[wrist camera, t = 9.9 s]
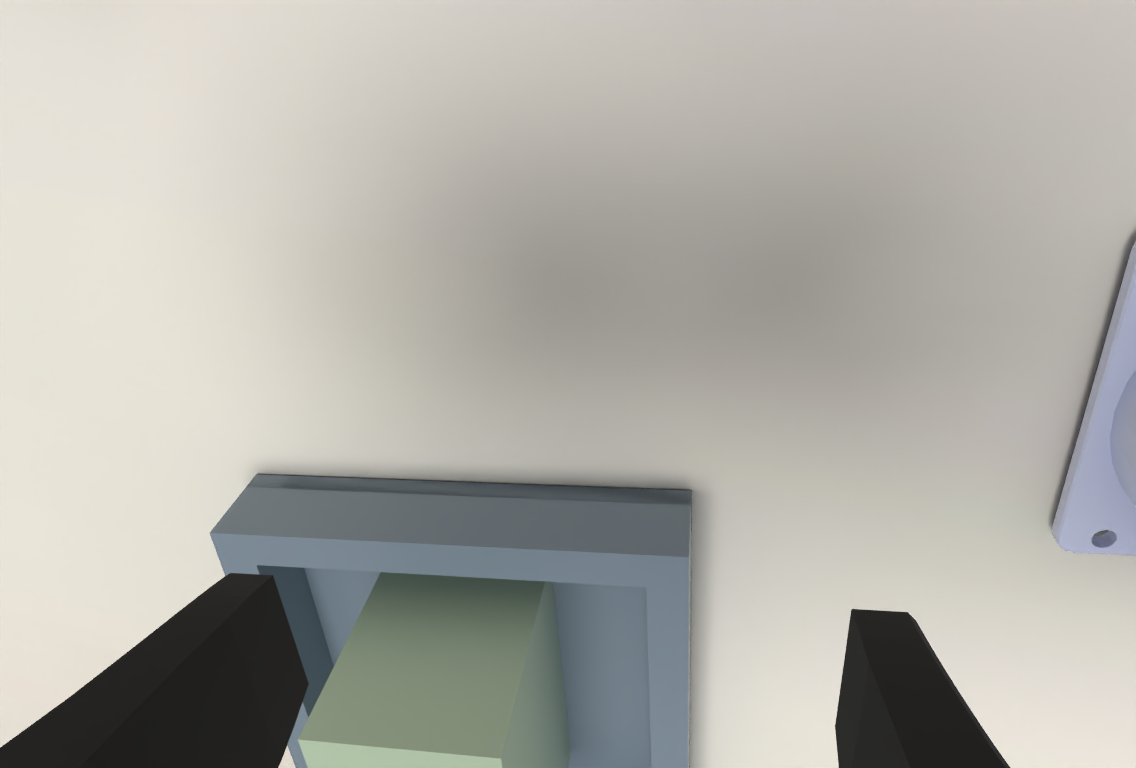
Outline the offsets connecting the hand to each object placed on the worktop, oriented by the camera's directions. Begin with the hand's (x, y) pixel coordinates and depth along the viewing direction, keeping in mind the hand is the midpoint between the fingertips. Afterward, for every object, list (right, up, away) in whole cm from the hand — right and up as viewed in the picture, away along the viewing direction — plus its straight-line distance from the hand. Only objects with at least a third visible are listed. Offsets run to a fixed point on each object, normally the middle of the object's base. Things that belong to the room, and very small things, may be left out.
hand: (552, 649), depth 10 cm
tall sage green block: (-2, -5, +14) cm, 15 cm away
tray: (-2, -5, +15) cm, 16 cm away
